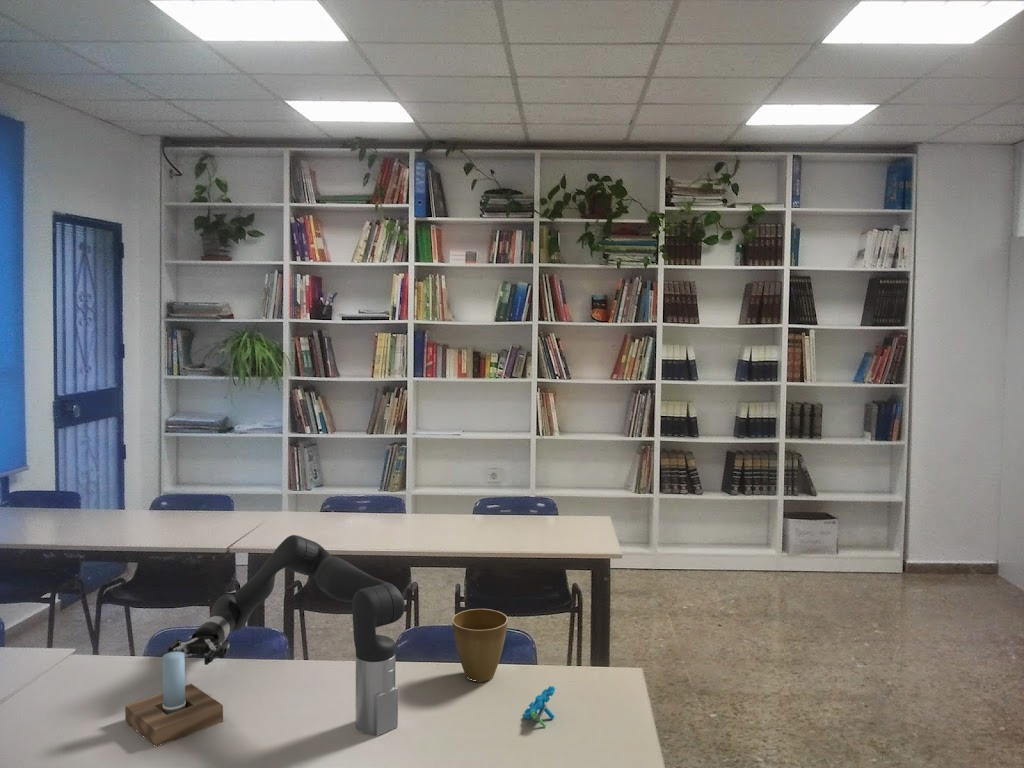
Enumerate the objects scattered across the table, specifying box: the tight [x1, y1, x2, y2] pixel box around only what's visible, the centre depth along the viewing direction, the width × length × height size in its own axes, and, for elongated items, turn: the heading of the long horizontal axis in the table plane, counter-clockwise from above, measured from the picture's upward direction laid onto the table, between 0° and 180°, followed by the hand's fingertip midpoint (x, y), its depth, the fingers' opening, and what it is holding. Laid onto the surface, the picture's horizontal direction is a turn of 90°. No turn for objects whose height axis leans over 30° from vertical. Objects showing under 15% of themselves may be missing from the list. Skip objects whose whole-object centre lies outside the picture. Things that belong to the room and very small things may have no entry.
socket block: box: [124, 683, 224, 747], centre depth 191 cm, size 16×16×4 cm
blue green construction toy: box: [523, 685, 556, 728], centre depth 195 cm, size 11×6×10 cm
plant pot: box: [451, 608, 508, 682], centre depth 217 cm, size 15×15×16 cm
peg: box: [161, 651, 186, 715], centre depth 190 cm, size 5×5×16 cm
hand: (188, 660), depth 200 cm, fingers open, 8 cm apart
